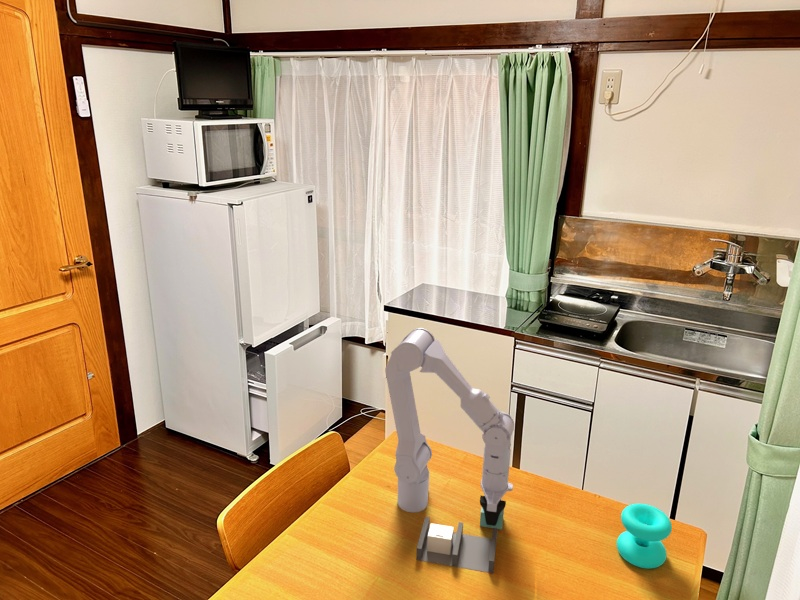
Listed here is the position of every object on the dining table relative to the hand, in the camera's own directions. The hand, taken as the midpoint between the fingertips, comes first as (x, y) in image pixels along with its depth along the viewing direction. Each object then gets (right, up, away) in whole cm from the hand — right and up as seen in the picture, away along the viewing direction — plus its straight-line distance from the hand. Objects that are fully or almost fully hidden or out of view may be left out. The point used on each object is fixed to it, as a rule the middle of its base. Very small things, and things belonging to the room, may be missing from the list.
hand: (491, 517), depth 136 cm
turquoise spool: (+31, -5, -7) cm, 32 cm away
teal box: (0, -1, 0) cm, 1 cm away
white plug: (-12, -4, -7) cm, 15 cm away
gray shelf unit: (-9, -5, -8) cm, 12 cm away
